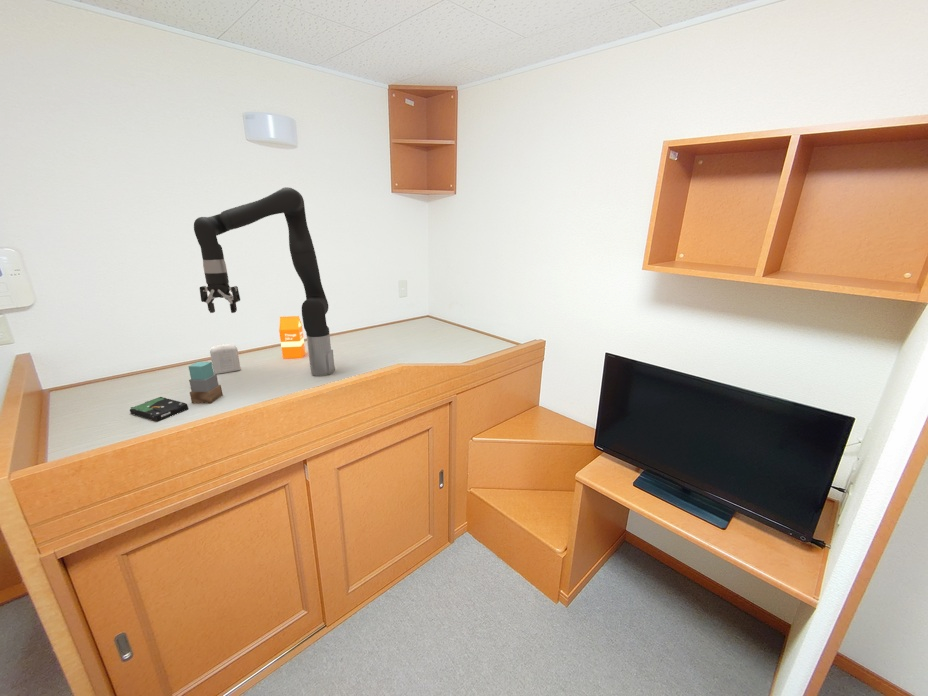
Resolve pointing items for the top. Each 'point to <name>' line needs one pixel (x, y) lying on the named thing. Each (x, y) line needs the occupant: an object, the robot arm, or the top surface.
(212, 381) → the slate block
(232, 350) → the photo printer
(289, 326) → the orange juice
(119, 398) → the top surface
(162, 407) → the disk drive
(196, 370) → the teal block
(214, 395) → the walnut base
